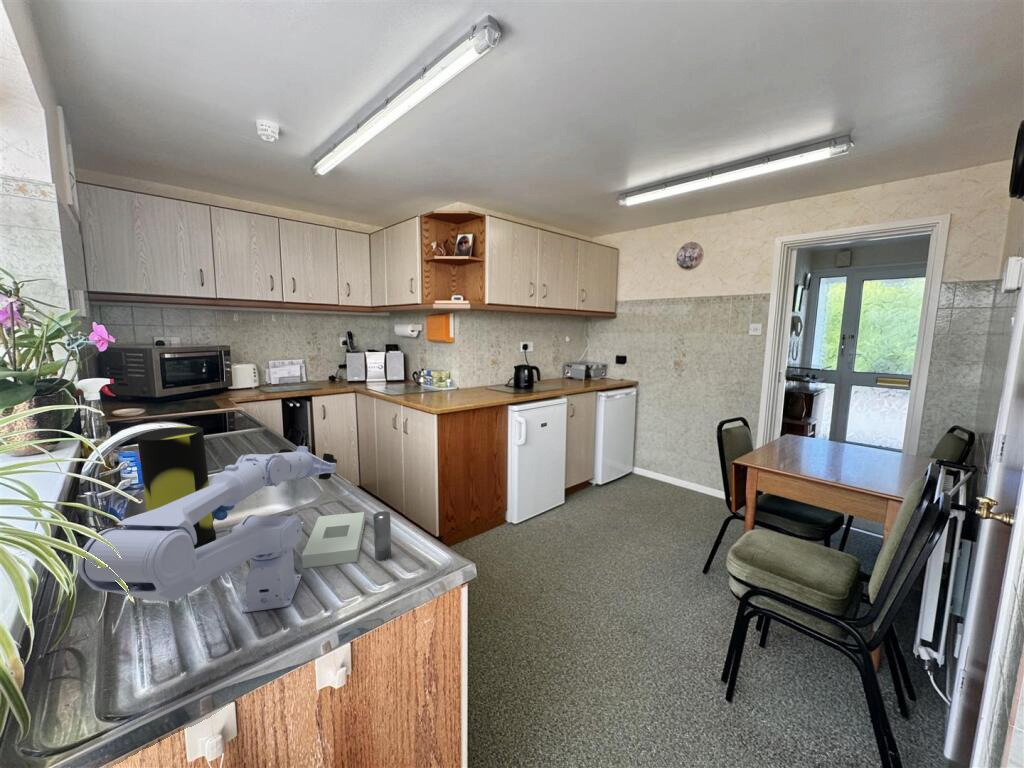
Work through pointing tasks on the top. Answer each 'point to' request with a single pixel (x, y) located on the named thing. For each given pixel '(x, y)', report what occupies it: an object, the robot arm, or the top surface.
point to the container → (175, 471)
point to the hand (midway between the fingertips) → (319, 462)
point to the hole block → (334, 540)
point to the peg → (382, 535)
